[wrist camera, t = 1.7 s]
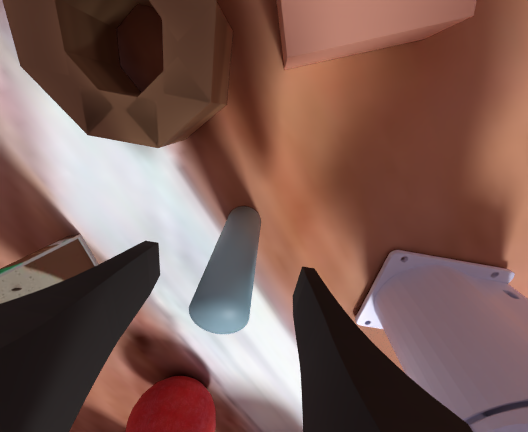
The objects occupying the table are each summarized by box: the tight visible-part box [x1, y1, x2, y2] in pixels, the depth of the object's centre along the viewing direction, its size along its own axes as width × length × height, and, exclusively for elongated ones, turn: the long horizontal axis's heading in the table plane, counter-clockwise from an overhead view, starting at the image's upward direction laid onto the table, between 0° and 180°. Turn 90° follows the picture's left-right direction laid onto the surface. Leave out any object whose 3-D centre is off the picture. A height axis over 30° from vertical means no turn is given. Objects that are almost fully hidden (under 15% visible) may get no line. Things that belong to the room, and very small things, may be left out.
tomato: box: [125, 376, 216, 432], centre depth 22 cm, size 9×9×8 cm
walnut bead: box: [3, 0, 233, 148], centre depth 10 cm, size 8×8×4 cm
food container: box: [0, 234, 99, 304], centre depth 15 cm, size 12×6×10 cm, turn 8°
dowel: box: [189, 206, 261, 334], centre depth 12 cm, size 2×2×8 cm
